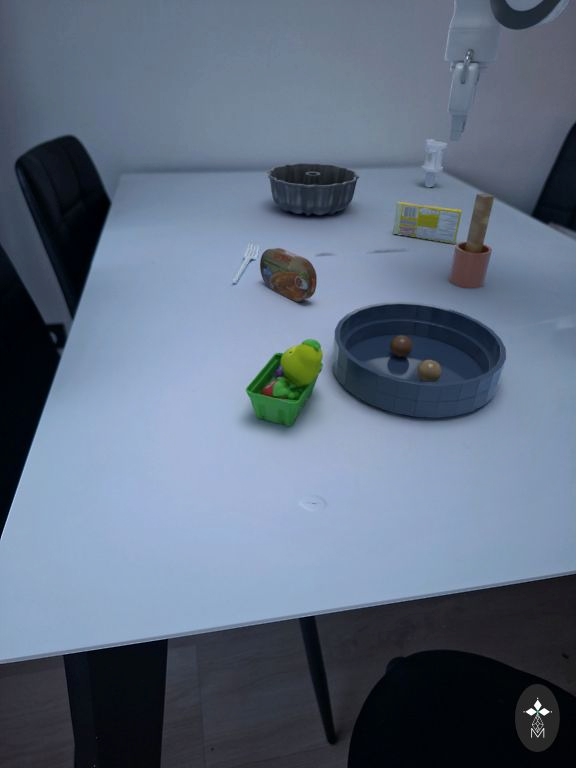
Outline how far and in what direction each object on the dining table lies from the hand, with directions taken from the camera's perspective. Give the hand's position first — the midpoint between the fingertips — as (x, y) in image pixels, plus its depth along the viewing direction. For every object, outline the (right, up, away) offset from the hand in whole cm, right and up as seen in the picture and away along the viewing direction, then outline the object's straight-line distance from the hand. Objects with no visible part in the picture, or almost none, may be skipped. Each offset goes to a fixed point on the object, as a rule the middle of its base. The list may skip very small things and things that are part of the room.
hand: (456, 136), depth 100 cm
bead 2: (-10, -45, -19) cm, 50 cm away
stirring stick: (+6, -25, +14) cm, 29 cm away
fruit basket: (-32, -50, -23) cm, 64 cm away
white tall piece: (+17, +21, +83) cm, 87 cm away
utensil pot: (+6, -25, +14) cm, 30 cm away
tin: (-32, -28, +9) cm, 43 cm away
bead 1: (-13, -40, -13) cm, 45 cm away
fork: (-41, -20, +20) cm, 50 cm away
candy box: (+4, -9, +38) cm, 40 cm away
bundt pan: (-25, +6, +59) cm, 64 cm away
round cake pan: (-12, -44, -15) cm, 48 cm away
